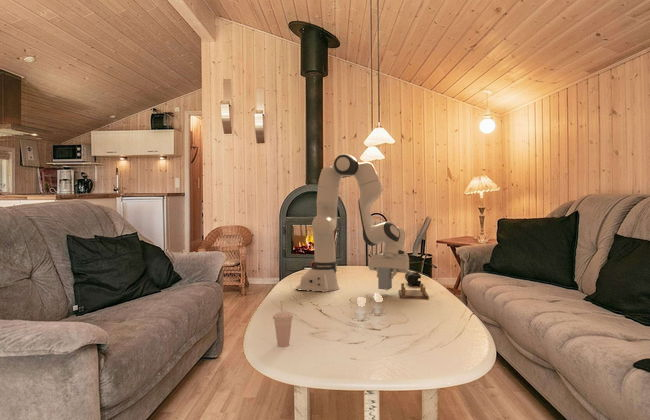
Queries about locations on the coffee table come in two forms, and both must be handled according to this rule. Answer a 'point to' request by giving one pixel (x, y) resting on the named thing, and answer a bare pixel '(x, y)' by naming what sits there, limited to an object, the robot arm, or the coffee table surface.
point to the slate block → (384, 278)
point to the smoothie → (283, 327)
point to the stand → (413, 293)
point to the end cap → (413, 278)
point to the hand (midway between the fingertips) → (384, 277)
